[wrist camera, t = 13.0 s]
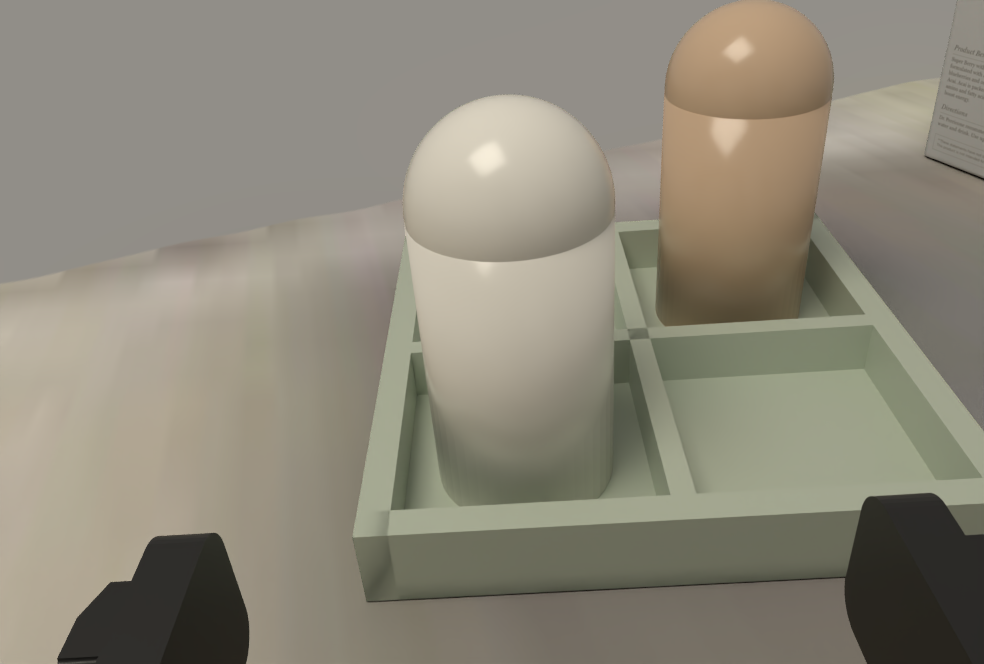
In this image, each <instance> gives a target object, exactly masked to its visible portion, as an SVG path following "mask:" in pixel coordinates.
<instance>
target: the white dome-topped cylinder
mask: <svg viewBox="0 0 984 664" xmlns="http://www.w3.org/2000/svg"><path fill="white" fill-rule="evenodd" d="M402 206H403V218H404V226H405V233H406V240H407V247H408V254H409V261H410V268H411V275H412V282H413V289H414V297H415V304H416V311H417V318H418V325H419V332H420V339H421V346H422V353H423V360H424V367H425V374H426V381H427V388H428V396H429V403H430V410H431V417H432V424H433V431H434V438H435V445H436V452H437V459H438V466H439V473H440V478H441V483H442V485H443V487H444V490H445V491H446V493H447V494H448V496H449V497H450V498H451V499H452V500H453V501H454V502H455V504H457V505H458V506H459V507H462V506H480V505H498V504H516V503H535V502H553V501H571V500H589V499H597V498H598V497H599V496H600V495H601V494H602V493H603V491H604V490H605V489H606V487H607V485H608V483H609V481H610V478H611V475H612V470H613V411H614V294H615V191H614V183H613V179H612V174H611V170H610V167H609V165H608V162H607V159H606V157H605V155H604V153H603V151H602V149H601V148H600V146H599V144H598V142H597V141H596V140H595V138H594V137H593V136H592V134H591V133H590V132H589V131H588V129H586V128H585V127H584V125H583V124H581V122H579V120H577V119H576V118H575V117H573V116H572V115H571V114H569V113H568V112H566V111H565V110H563V109H561V108H560V107H558V106H555V105H554V104H552V103H550V102H547V101H544V100H541V99H538V98H534V97H530V96H524V95H508V94H506V95H495V96H489V97H485V98H480V99H477V100H474V101H471V102H469V103H467V104H465V105H462V106H460V107H458V108H456V109H455V110H453V111H452V112H450V113H449V114H447V115H446V116H445V117H443V118H442V119H441V120H440V121H439V122H438V123H437V124H436V125H435V126H434V127H432V128H431V129H430V130H429V132H428V133H427V134H426V136H425V137H424V138H423V140H422V141H421V142H420V144H419V145H418V147H417V149H416V151H415V153H414V154H413V156H412V159H411V162H410V164H409V167H408V170H407V173H406V177H405V182H404V187H403V201H402Z"/></svg>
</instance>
